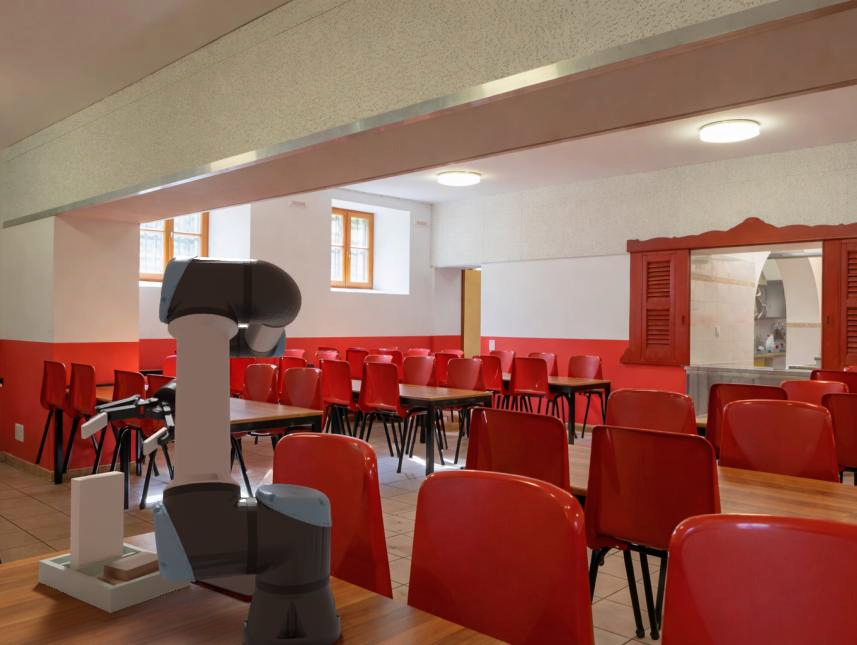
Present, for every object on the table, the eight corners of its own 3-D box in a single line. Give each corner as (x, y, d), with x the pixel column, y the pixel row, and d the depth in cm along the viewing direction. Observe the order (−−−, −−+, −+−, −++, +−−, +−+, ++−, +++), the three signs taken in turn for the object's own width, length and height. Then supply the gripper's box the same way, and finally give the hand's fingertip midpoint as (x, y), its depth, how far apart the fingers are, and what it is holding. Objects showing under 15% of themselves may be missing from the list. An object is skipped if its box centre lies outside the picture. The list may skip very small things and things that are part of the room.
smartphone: (215, 553, 151) (299, 577, 136) (215, 561, 151) (299, 585, 136) (163, 569, 141) (248, 596, 126) (163, 577, 141) (248, 605, 126)
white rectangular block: (123, 564, 141) (124, 473, 141) (78, 577, 133) (79, 480, 133) (114, 561, 142) (115, 471, 142) (69, 574, 135) (71, 478, 135)
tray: (190, 585, 134) (190, 564, 134) (110, 612, 121) (110, 589, 121) (117, 559, 148) (118, 540, 148) (38, 582, 135) (39, 560, 135)
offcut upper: (166, 566, 134) (167, 556, 134) (126, 582, 126) (127, 570, 126) (144, 561, 137) (144, 551, 137) (103, 576, 129) (103, 565, 129)
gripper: (228, 425, 155) (171, 473, 135) (128, 400, 160) (58, 442, 140) (229, 394, 152) (171, 438, 133) (127, 369, 158) (56, 408, 138)
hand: (113, 440), depth 137 cm, fingers open, 13 cm apart
